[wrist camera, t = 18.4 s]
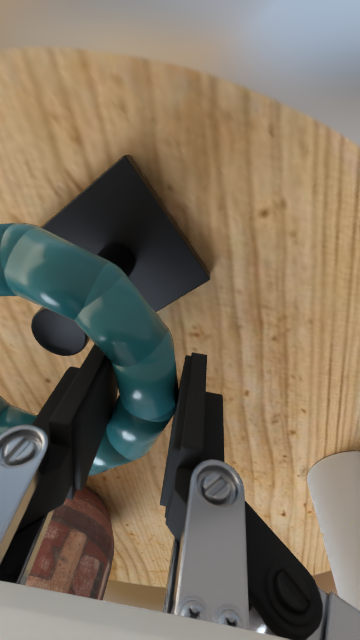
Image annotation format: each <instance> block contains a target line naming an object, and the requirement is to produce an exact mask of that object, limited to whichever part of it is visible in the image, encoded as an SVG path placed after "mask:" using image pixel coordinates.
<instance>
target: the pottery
mask: <svg viewBox="0 0 360 640" xmlns="http://www.w3.org/2000/svg"><path fill="white" fill-rule="evenodd" d="M113 555H114V538H113V531H112V525H111V521H110V516H109V514H108V512H107V510H106V508H105V506H104V504H103V502H102V501H101V499H100V498H99V497H98V495H97V494H95V493H94V492H93V491H92V490H90V489H89V488H88V487H86V486H84V488H83V489H82V490H79V489H77V490H76V493H75V495H74V498H73V500H71V499H65V502H64V504H63V505H61V506H59V507H58V508H56V509H54V512H53V515H52V518H51V520H50V523H49V525H48V528H47V530H46V533H45V536H44V538H43V541H42V543H41V546H40V548H39V551H38V553H37V556H36V559H35V561H34V564H33V566H32V569H31V571H30V574H29V576H28V579H27V581H26V584H25V586H30V587H35V588H41V589H46V590H51V591H56V592H61V593H66V594H72V595H77V596H82V597H87V598H92V599H97V600H103V596H104V593H105V589H106V585H107V581H108V578H109V574H110V570H111V565H112V560H113Z"/></svg>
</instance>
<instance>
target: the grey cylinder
mask: <svg viewBox="0 0 360 640" xmlns="http://www.w3.org/2000/svg"><path fill="white" fill-rule="evenodd" d="M307 482H308V486H309V490H310V493H311V497H312V501H313V504H314V508H315V512H316V515H317V519H318V523H319V526H320V530H321V534H322V537H323V541H324V544H325V548H326V552H327V555H328V559H329V563H330V566H331V570H332V573H333V577H334V581H335V585H336V588H337V592H338V595H339V597H340V598H342V599H343V600H345V601H346V602H347V603H349V604H350V605H352V606H353V607H355V608H356V609H358V610H359V611H360V451H351V452H342V453H337V454H334V455H331V456H328V457H326V458H324V459H322V460H320V461H319V462H317V463H316V464H315V465H314V466H313V467H312V468H311V469H310V471H309V473H308V475H307Z"/></svg>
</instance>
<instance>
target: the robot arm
mask: <svg viewBox="0 0 360 640" xmlns="http://www.w3.org/2000/svg"><path fill="white" fill-rule="evenodd" d="M206 369H207V355H204V354H198V353H193V352H192V355H191V356H188V355H186V357H185V362H184V366H183V371H182V376H181V381H180V386H179V396H178V401H177V407H176V411H175V413H174V417H173V423H172V429H171V436H170V442H169V449H168V455H167V462H166V468H165V474H164V481H163V487H162V494H161V500H160V505H163V506H166V512H165V518H166V525H167V526H168V528H169V529H170V531H171V532H172V534H173V535H174V539H173V546H172V552H171V559H170V566H169V573H168V580H167V586H166V593H165V600H164V607H163V612H158V611H153V610H148V609H143V608H138V607H133V606H128V605H123V604H118V603H112V602H107V601H102V600H97V599H92V598H87V597H82V596H77V595H72V594H66V593H61V592H56V591H51V590H46V589H41V588H35V587H30V586H25V584H26V581H27V579H28V576H29V574H30V571H31V569H32V566H33V564H34V561H35V559H36V556H37V553H38V551H39V548H40V546H41V543H42V541H43V538H44V536H45V533H46V530H47V528H48V525H49V523H50V520H51V518H52V515H53V512H54V509H56V508H58V507H59V506H61V505H63V504H64V502H65V499H71V500H73V498H74V495H75V493H76V490H77V489H79V490H82V489H83V488H84V485H85V483H86V480H87V478H88V475H89V472H90V470H91V467H92V465H93V462H94V459H95V457H96V454H97V452H98V449H99V446H100V444H101V441H102V438H103V436H104V433H105V431H106V428H107V425H108V421H109V417H110V413H111V411H112V409H113V407H114V405H115V403H116V400H117V392H118V385H117V381H116V377H115V373H114V369H113V365H112V362H111V361H110V359H109V358H108V357H107V356H106V355H105V354H104V353H103V352H102V351H101V350H100V349H99V348H98V346H97V345H96V344H94V346H93V348H92V349H91V351H90V353H89V354H88V356H87V358H86V359H85V361H84V363H83V364H82V366H81V368H76V367H69V368H68V370H67V371H66V372H65V374H64V376H63V377H62V379H61V380H60V382H59V383H58V385H57V386H56V388H55V389H54V391H53V392H52V394H51V395H50V397H49V399H48V400H47V402H46V403H45V405H44V406H43V408H42V409H41V411H40V412H39V414H38V415H37V417H36V419H35V420H34V422H33V423H32V425H20V426H15V427H12V428H10V429H8V430H5V431H4V432H3V433H1V434H0V640H360V611H359V610H358V609H356V608H355V607H353V606H352V605H350V604H349V603H347V602H346V601H345V600H343V599H342V598H340V597H339V596H337V595H336V594H334V593H333V592H330V593H329V594H327V593H326V592H325V591H323V590H322V589H320V588H319V587H317V585H316V583H315V580H314V579H313V577H312V576H311V575H310V573H309V572H308V571H307V569H306V568H305V567H304V566H303V565H302V564H301V563H300V561H299V560H298V559H297V558H296V557H295V556H294V555H293V554H292V553H291V551H290V550H289V549H288V548H287V547H286V546H285V545H284V544H283V542H282V541H281V540H280V539H279V538H278V537H277V536H276V535H275V534H274V532H273V531H272V530H271V529H270V528H269V527H268V526H267V525H266V523H265V522H264V521H263V520H262V519H261V518H260V517H259V516H258V514H257V513H256V512H255V511H254V510H253V509H252V508H251V507H250V506H249V504H248V503H247V502H246V501H245V496H244V486H243V482H242V480H241V478H240V476H239V474H238V473H237V472H236V471H235V470H234V468H232V467H231V466H230V465H228V464H227V463H225V462H224V427H223V396H222V395H221V394H215V393H210V392H206Z"/></svg>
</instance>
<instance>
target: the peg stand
mask: <svg viewBox="0 0 360 640" xmlns="http://www.w3.org/2000/svg"><path fill="white" fill-rule="evenodd" d="M41 228H42V229H44V230H46V231H49V232H51V233H53V234H55V235H57V236H59V237H61V238H63V239H65V240H67V241H69V242H71V243H73V244H75V245H78V246H80V247H82V248H84V249H86V250H88V251H90V252H92V253H94V254H96V255H98V256H100V257H102V258H104V259H107V260H109V261H111V262H112V263H114V264H116V265H117V266H118V267H120V269H122V270H123V272H124V273H125V274H126V275H127V277H128V278H129V279H130V280H131V282H132V283H133V284H134V285H135V287H136V288H137V289H138V291H139V292H140V293H141V294H142V296H143V297H144V298H145V299H146V301H147V302H148V303H149V305H150V306H151V307H152V308H153V310H154V311H155V312H156V311H158V310H160V309H162V308H163V307H165V306H167V305H168V304H170V303H172V302H173V301H175V300H177V299H178V298H180V297H182V296H183V295H185V294H187V293H188V292H190V291H192V290H193V289H195V288H197V287H198V286H200V285H202V284H203V283H205V282H207V281H208V280H210V272H209V270H208V269H207V267H206V266H205V264H204V263H203V261H202V260H201V258H200V257H199V255H198V254H197V252H196V251H195V250H194V248H193V247H192V245H191V244H190V242H189V241H188V239H187V238H186V236H185V235H184V233H183V232H182V230H181V229H180V228H179V226H178V225H177V223H176V222H175V220H174V219H173V217H172V216H171V214H170V213H169V211H168V210H167V208H166V207H165V206H164V204H163V203H162V201H161V200H160V198H159V197H158V195H157V194H156V192H155V191H154V189H153V188H152V186H151V185H150V184H149V182H148V181H147V179H146V178H145V176H144V175H143V173H142V172H141V170H140V169H139V167H138V166H137V164H136V163H135V161H134V160H133V159H132V157H131V156H130V155H124V156H123V157H122V158H121V159H119V160H118V161H117V162H116V163H115V164H114V165H113V166H111V167H110V168H109V169H108V170H107V171H106V172H104V173H103V174H102V175H101V176H100V177H99V178H98V179H96V180H95V181H94V182H93V183H92V184H91V185H90V186H88V187H87V188H86V189H85V190H84V191H83V192H81V193H80V194H79V195H78V196H77V197H76V198H75V199H73V200H72V201H71V202H70V203H69V204H68V205H67V206H65V207H64V208H63V209H62V210H61V211H60V212H58V213H57V214H56V215H55V216H54V217H53V218H52V219H50V220H49V221H48V222H47V223H46V224H45V225H43V226H42V227H41ZM31 328H32V333H33V335H34V337H35V339H36V340H37V342H38V343H39V344H40V345H41V346H42V347H43V348H45V349H46V350H48V351H50V352H52V353H54V354H57V355H62V356H70V355H74V354H77V353H79V352H80V351H82V350H83V349H84V348H85V346H86V345H87V343H88V341H89V340H90V338H89V337H88V336H87V335H86V333H85V332H84V331H83V330H82V329H81V328H80V327H79V326H78V325H77V324H76V323H75V321H73V320H71V319H69V318H66V317H64V316H62V315H60V314H58V313H55V312H53V311H51V310H49V309H46V308H44V307H42V308H41V309H40V310H39V311H38V312H37V313H36V314H35V315H34V317H33V319H32V324H31Z"/></svg>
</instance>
